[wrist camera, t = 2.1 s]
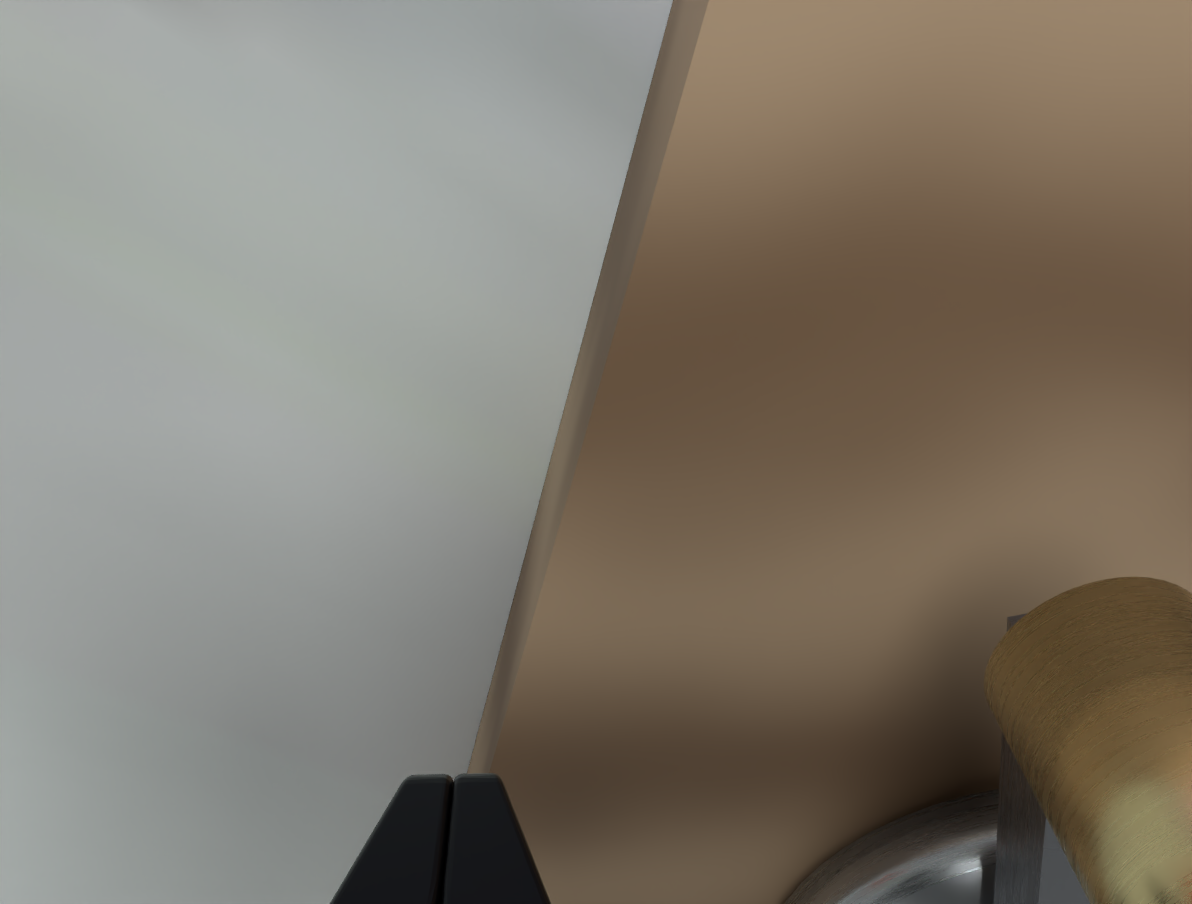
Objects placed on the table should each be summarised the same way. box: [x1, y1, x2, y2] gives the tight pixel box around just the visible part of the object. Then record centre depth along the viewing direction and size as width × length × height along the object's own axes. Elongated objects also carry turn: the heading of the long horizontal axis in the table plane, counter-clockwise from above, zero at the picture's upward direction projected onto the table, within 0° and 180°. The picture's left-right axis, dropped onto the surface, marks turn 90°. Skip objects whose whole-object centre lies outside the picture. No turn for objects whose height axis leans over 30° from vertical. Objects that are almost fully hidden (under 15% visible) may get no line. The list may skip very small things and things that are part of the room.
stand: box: [467, 0, 1192, 904], centre depth 16 cm, size 24×20×4 cm
